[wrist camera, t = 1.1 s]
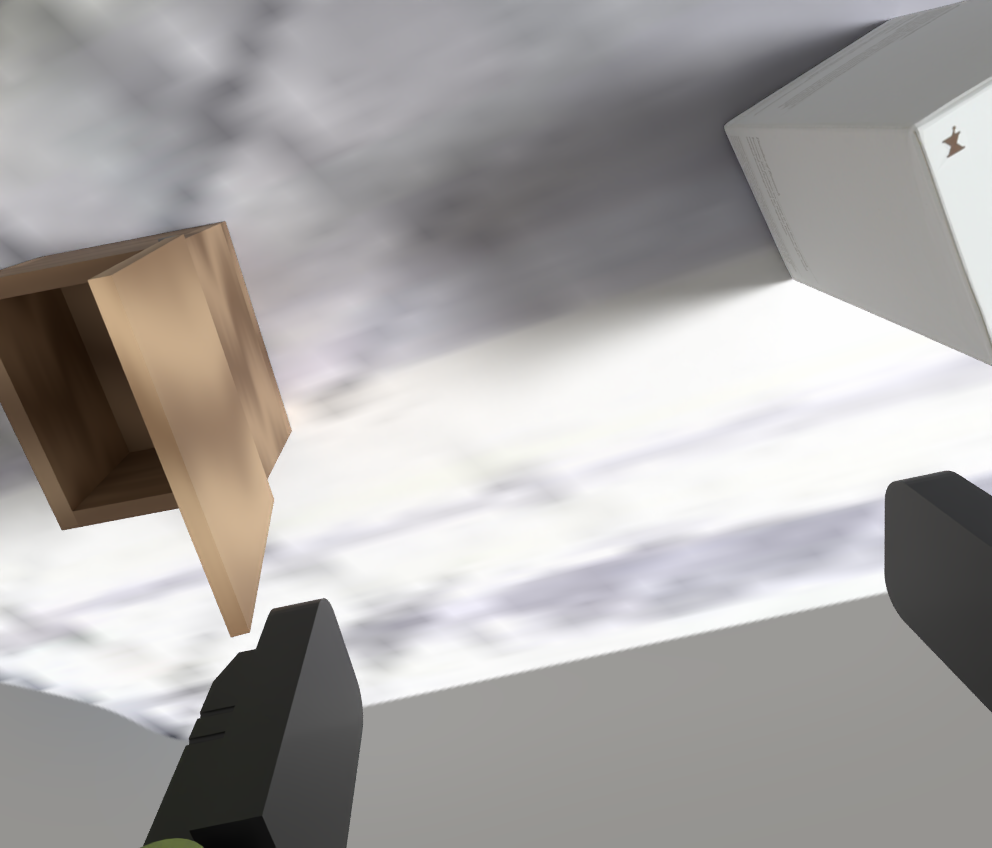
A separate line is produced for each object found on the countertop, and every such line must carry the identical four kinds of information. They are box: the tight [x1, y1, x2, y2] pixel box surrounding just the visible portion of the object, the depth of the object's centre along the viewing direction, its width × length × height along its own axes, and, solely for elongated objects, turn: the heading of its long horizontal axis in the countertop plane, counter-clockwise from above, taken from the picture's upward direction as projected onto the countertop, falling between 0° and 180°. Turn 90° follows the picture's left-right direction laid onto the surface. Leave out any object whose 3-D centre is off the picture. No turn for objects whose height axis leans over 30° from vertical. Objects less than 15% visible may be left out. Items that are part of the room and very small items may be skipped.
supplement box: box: [724, 0, 992, 366], centre depth 28 cm, size 9×9×15 cm
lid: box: [88, 234, 274, 637], centre depth 25 cm, size 12×10×1 cm
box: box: [0, 221, 292, 530], centre depth 33 cm, size 11×9×7 cm
